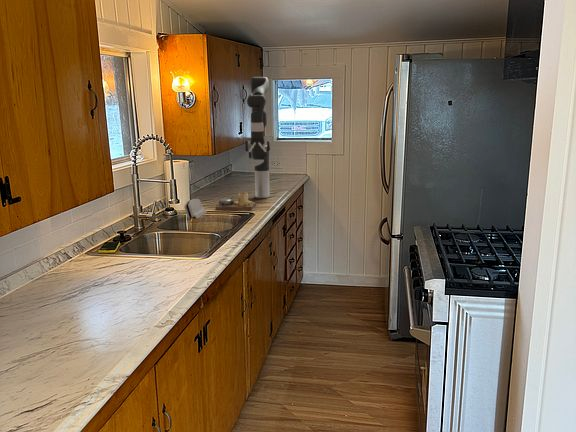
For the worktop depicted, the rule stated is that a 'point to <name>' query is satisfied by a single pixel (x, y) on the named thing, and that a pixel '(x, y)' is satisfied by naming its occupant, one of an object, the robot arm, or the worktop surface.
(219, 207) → the carrier
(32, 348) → the worktop surface
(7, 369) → the worktop surface
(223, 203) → the sun gear
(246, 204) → the planet gear
